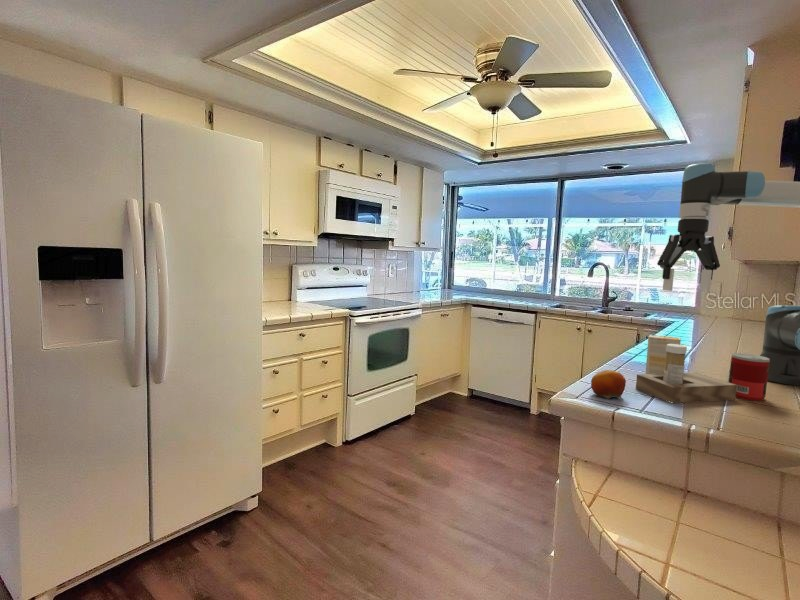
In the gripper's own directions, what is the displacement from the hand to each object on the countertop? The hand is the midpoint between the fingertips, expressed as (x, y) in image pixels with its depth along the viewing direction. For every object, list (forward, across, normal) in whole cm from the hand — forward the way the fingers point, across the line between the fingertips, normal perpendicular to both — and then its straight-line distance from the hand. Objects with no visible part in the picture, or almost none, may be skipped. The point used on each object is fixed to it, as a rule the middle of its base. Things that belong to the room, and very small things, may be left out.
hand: (686, 291), depth 132 cm
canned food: (+27, +4, -18) cm, 33 cm away
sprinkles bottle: (+27, -16, -14) cm, 34 cm away
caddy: (+27, -12, -14) cm, 32 cm away
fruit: (+27, -35, -13) cm, 46 cm away
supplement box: (+27, -7, -1) cm, 28 cm away
